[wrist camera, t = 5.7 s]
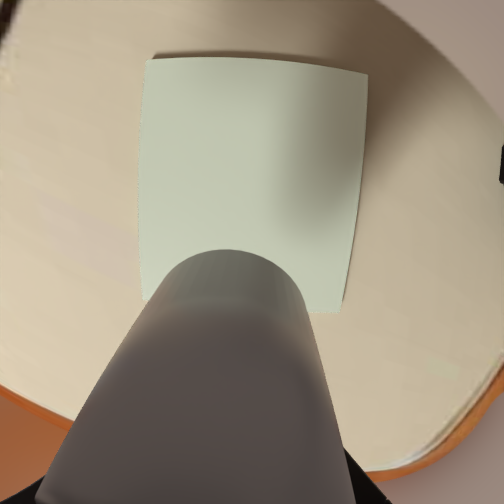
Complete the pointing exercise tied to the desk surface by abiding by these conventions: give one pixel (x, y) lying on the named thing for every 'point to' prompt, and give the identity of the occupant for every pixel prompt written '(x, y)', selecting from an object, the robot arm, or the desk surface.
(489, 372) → the desk surface
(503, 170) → the robot arm
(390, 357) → the desk surface
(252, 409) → the rounded connector
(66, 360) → the desk surface
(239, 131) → the sage pad
